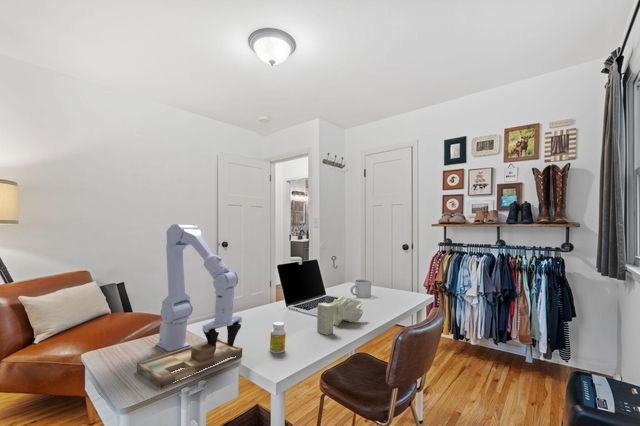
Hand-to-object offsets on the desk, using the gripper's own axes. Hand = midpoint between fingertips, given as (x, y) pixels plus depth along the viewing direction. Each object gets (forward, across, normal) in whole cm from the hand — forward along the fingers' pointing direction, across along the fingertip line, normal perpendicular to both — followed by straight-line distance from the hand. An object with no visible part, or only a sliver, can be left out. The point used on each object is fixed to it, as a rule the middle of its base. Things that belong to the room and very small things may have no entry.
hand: (221, 348), depth 103 cm
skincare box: (+3, +45, -12) cm, 47 cm away
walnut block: (+1, -7, 0) cm, 7 cm away
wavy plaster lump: (+3, +64, -11) cm, 65 cm away
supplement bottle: (+3, +17, -10) cm, 20 cm away
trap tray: (+3, -8, +3) cm, 9 cm away
